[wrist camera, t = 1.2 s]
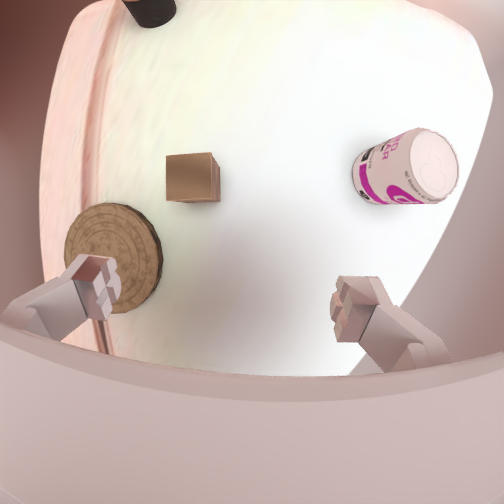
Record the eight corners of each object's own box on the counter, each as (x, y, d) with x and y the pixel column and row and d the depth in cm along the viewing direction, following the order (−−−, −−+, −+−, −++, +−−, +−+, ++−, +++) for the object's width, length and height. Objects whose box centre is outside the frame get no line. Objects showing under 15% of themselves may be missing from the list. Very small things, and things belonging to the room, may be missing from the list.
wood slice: (185, 246, 38) (180, 249, 35) (130, 327, 40) (123, 334, 37) (105, 182, 37) (95, 180, 34) (61, 265, 38) (50, 268, 35)
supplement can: (392, 212, 38) (456, 215, 23) (344, 193, 37) (397, 185, 23) (403, 162, 37) (466, 146, 22) (357, 141, 36) (410, 111, 21)
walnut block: (220, 201, 37) (211, 198, 27) (186, 203, 37) (166, 200, 27) (220, 167, 37) (211, 152, 27) (186, 169, 37) (166, 155, 27)
